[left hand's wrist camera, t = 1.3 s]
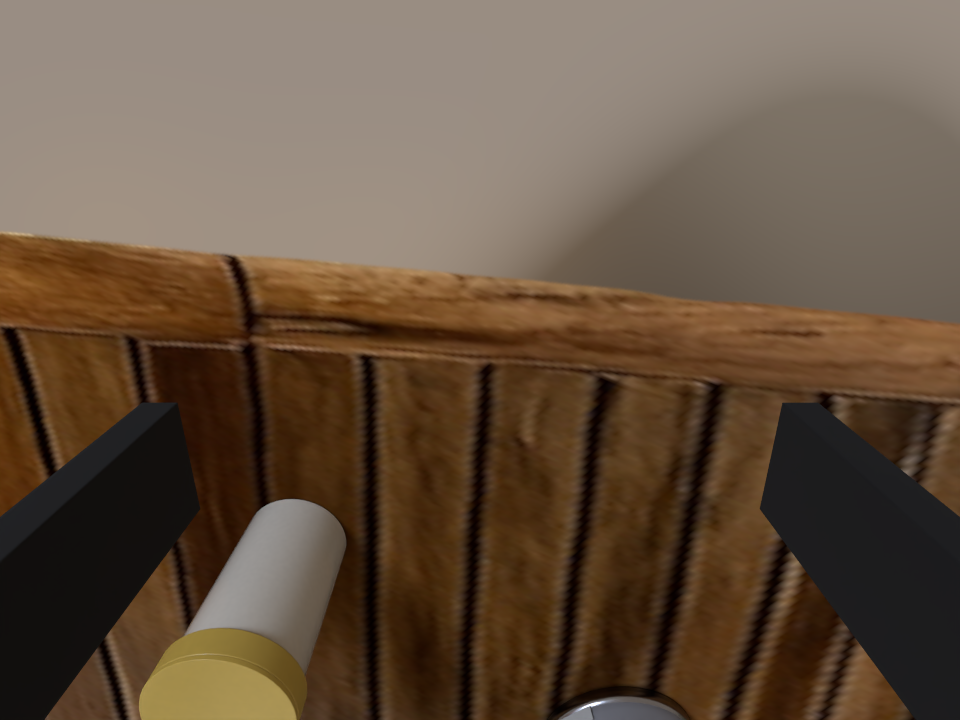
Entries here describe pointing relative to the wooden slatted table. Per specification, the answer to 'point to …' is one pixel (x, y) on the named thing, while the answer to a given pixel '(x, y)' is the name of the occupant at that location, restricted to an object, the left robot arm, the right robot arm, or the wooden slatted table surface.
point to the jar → (279, 577)
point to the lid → (224, 679)
